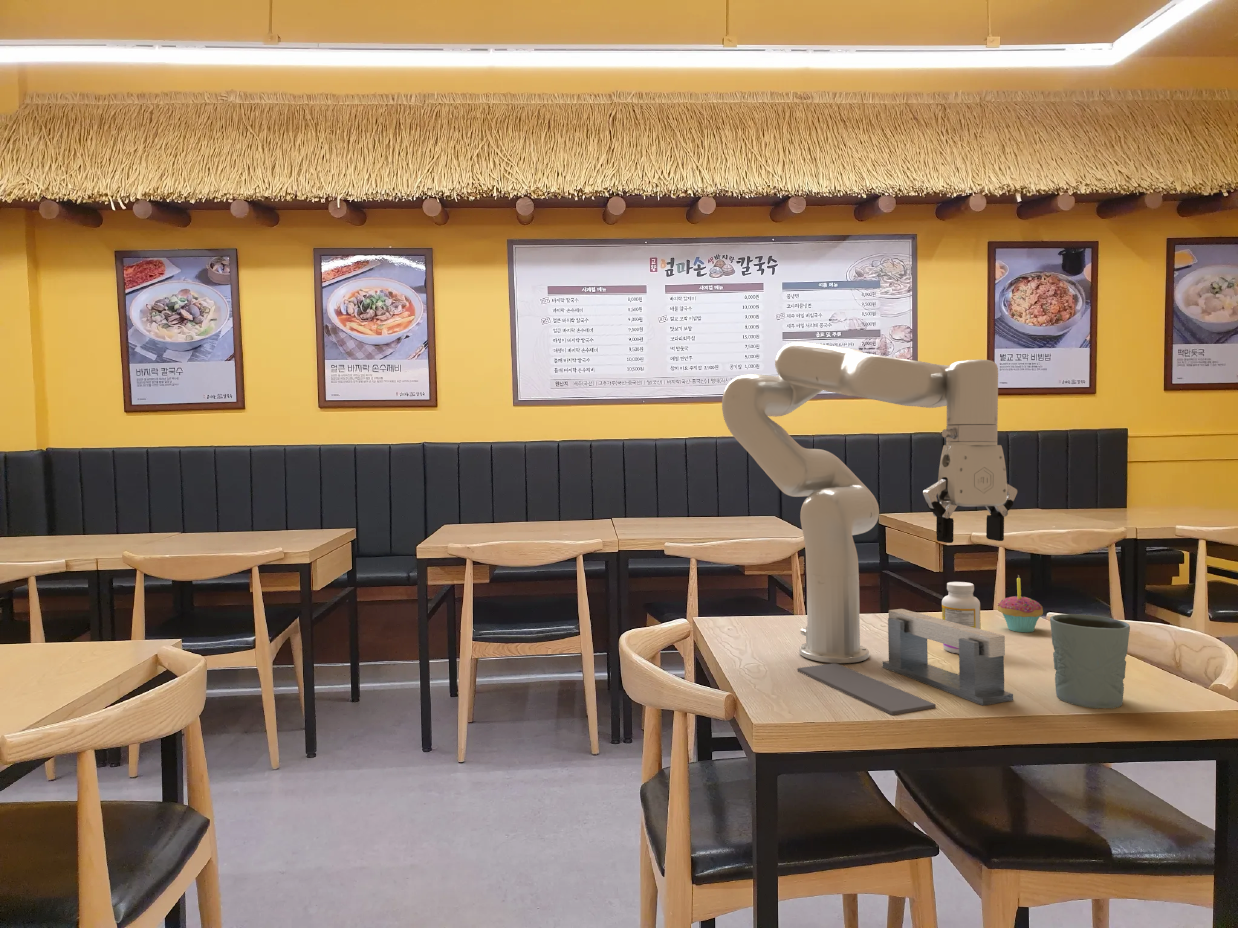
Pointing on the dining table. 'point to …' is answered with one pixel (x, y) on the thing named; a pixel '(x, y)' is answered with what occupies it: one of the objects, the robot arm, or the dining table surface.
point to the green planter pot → (1089, 659)
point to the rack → (975, 677)
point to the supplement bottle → (961, 607)
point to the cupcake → (1020, 611)
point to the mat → (867, 689)
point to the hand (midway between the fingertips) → (970, 540)
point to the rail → (949, 632)
